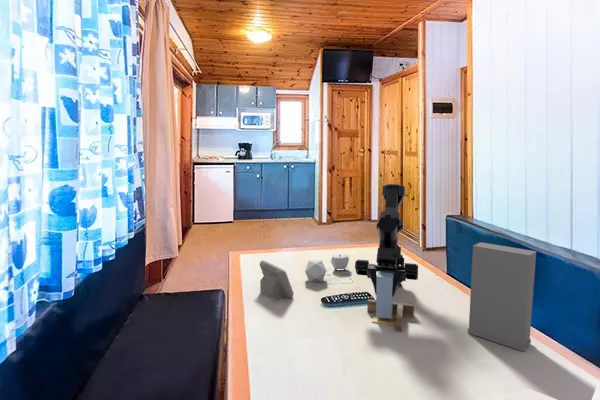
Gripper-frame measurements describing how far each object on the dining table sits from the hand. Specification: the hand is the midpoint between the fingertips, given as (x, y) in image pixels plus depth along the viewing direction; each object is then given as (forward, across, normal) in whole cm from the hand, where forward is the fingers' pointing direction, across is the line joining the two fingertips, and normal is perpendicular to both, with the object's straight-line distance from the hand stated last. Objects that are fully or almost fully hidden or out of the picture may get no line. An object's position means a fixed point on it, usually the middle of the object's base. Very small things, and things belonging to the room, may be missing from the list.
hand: (384, 295), depth 111 cm
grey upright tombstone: (+7, +30, +4) cm, 32 cm away
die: (-14, -29, +26) cm, 41 cm away
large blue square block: (+4, 0, +6) cm, 7 cm away
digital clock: (-3, -39, +14) cm, 42 cm away
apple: (-25, -22, +37) cm, 50 cm away
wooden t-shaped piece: (+5, +2, +6) cm, 8 cm away
